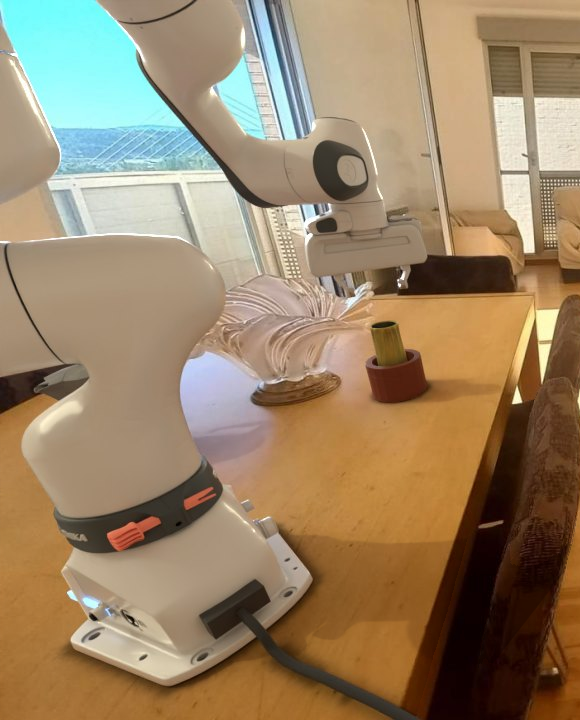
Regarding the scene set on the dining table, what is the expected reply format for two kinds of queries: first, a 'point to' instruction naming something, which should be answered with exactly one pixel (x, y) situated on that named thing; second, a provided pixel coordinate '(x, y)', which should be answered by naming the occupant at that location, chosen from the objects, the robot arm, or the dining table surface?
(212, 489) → the robot arm
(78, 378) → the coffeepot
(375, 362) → the jar
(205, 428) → the dining table surface
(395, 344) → the bamboo tube section
